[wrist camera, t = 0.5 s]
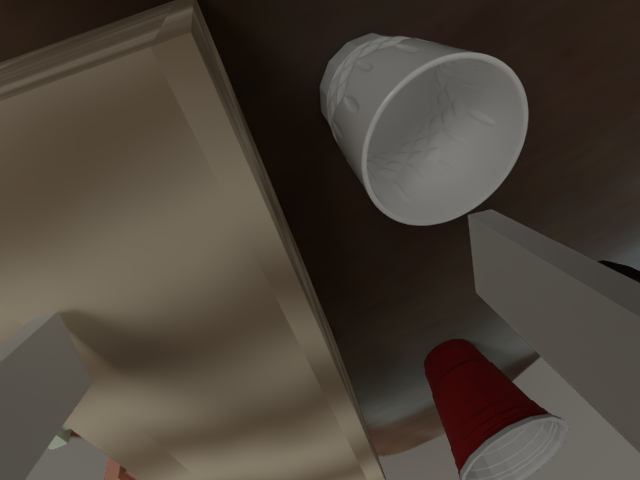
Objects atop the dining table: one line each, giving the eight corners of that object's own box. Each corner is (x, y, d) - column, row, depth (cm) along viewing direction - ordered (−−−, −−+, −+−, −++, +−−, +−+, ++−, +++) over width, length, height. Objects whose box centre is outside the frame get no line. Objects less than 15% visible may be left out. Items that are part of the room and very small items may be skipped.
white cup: (360, 171, 29) (423, 252, 21) (283, 92, 24) (324, 157, 16) (448, 89, 27) (553, 144, 19) (380, -12, 23) (481, 3, 15)
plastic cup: (509, 344, 46) (590, 444, 37) (434, 397, 49) (493, 504, 39) (466, 304, 40) (550, 411, 31) (384, 367, 43) (438, 484, 33)
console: (-4, 64, 20) (-252, 192, 9) (194, -7, 21) (191, 32, 9) (233, 384, 38) (249, 559, 27) (336, 344, 39) (393, 499, 28)
